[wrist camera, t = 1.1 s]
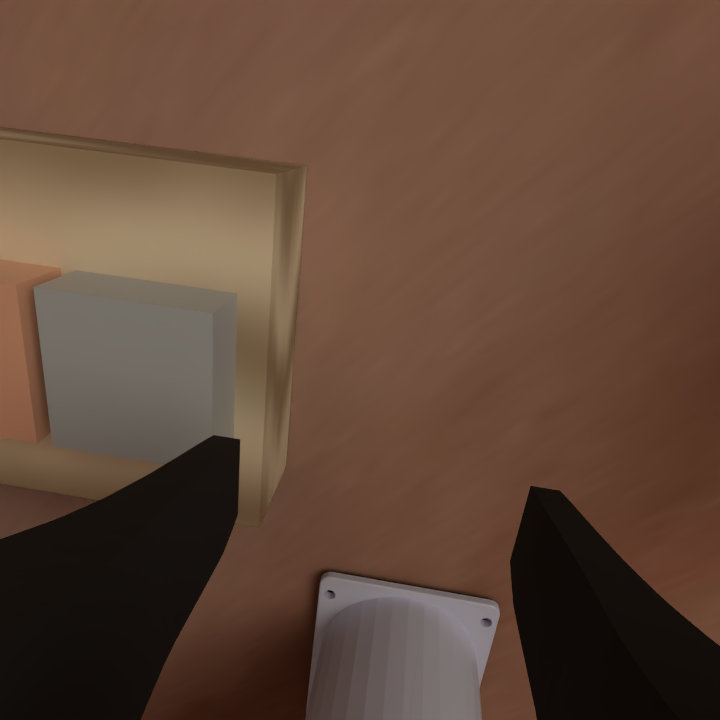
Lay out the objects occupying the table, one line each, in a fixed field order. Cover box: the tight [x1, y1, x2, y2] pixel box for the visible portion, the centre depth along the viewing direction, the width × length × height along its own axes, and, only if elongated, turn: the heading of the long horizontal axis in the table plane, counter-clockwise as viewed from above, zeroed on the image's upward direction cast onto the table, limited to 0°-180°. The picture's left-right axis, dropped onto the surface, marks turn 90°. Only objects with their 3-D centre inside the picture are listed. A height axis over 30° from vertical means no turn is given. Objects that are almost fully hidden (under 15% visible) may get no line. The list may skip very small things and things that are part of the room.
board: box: [0, 127, 307, 528], centre depth 20 cm, size 12×14×4 cm
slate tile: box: [33, 270, 237, 465], centre depth 17 cm, size 5×5×2 cm
